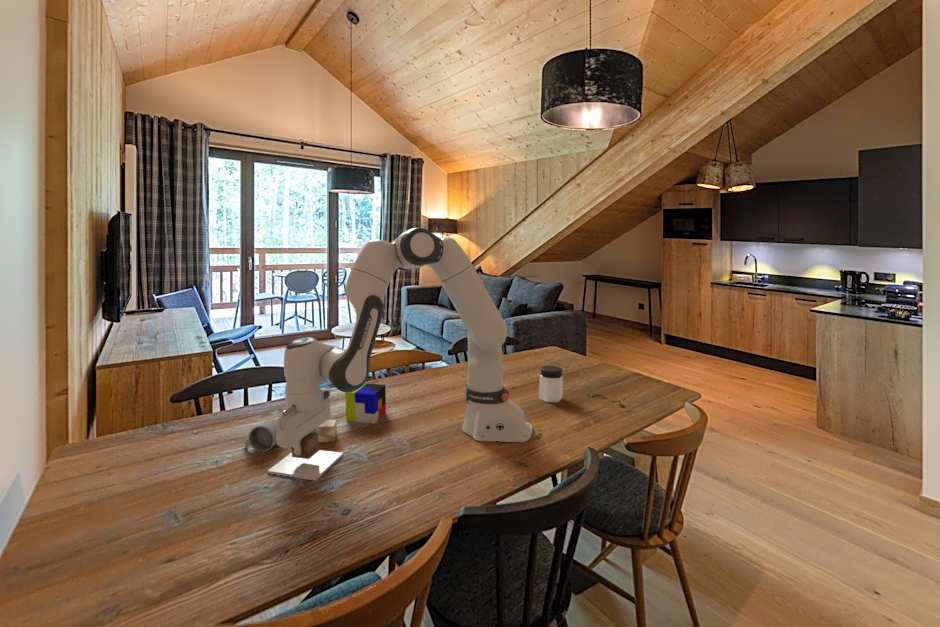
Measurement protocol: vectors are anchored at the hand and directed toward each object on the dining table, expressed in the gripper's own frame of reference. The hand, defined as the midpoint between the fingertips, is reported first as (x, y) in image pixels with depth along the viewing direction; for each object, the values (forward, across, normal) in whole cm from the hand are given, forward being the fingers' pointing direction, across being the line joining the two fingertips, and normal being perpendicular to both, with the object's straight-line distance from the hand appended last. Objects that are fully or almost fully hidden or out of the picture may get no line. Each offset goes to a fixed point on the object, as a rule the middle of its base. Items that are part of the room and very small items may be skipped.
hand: (305, 448), depth 127 cm
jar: (+5, +69, -61) cm, 92 cm away
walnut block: (+2, 0, 0) cm, 2 cm away
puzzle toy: (+5, +35, -1) cm, 35 cm away
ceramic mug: (+5, +7, +18) cm, 20 cm away
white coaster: (+5, 0, 0) cm, 5 cm away
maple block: (+5, +16, +3) cm, 17 cm away
